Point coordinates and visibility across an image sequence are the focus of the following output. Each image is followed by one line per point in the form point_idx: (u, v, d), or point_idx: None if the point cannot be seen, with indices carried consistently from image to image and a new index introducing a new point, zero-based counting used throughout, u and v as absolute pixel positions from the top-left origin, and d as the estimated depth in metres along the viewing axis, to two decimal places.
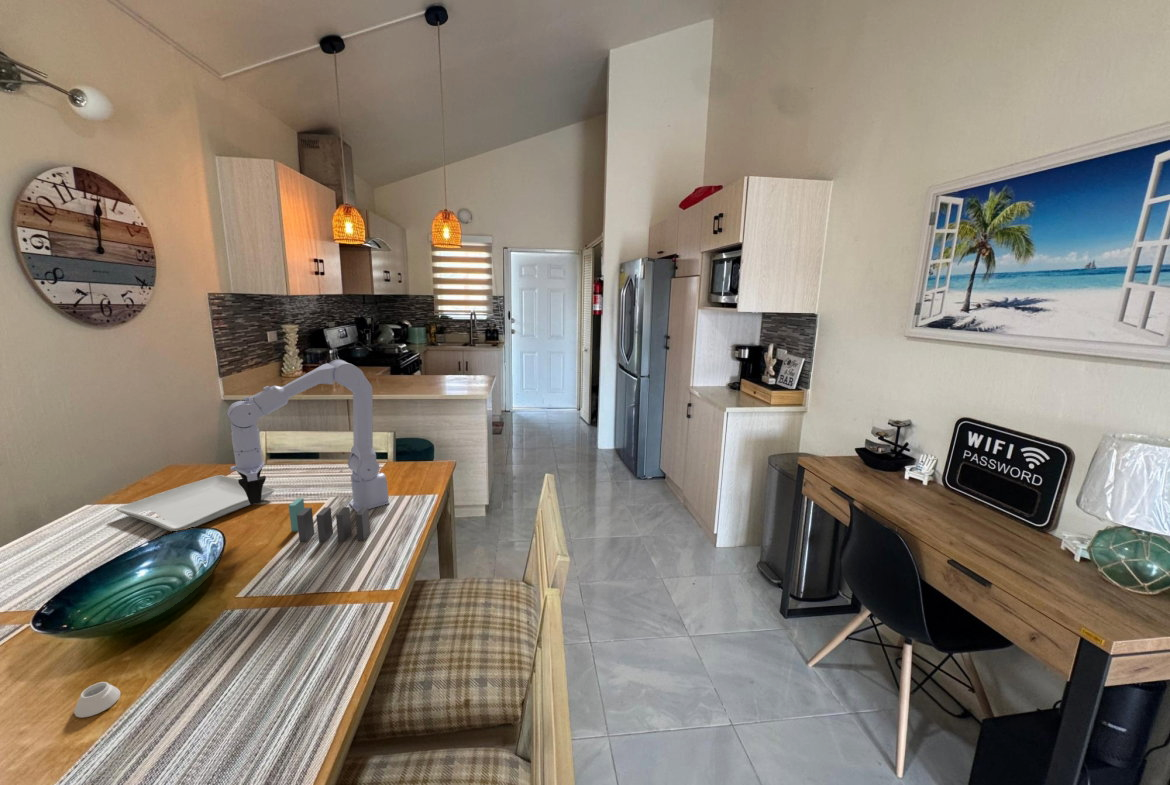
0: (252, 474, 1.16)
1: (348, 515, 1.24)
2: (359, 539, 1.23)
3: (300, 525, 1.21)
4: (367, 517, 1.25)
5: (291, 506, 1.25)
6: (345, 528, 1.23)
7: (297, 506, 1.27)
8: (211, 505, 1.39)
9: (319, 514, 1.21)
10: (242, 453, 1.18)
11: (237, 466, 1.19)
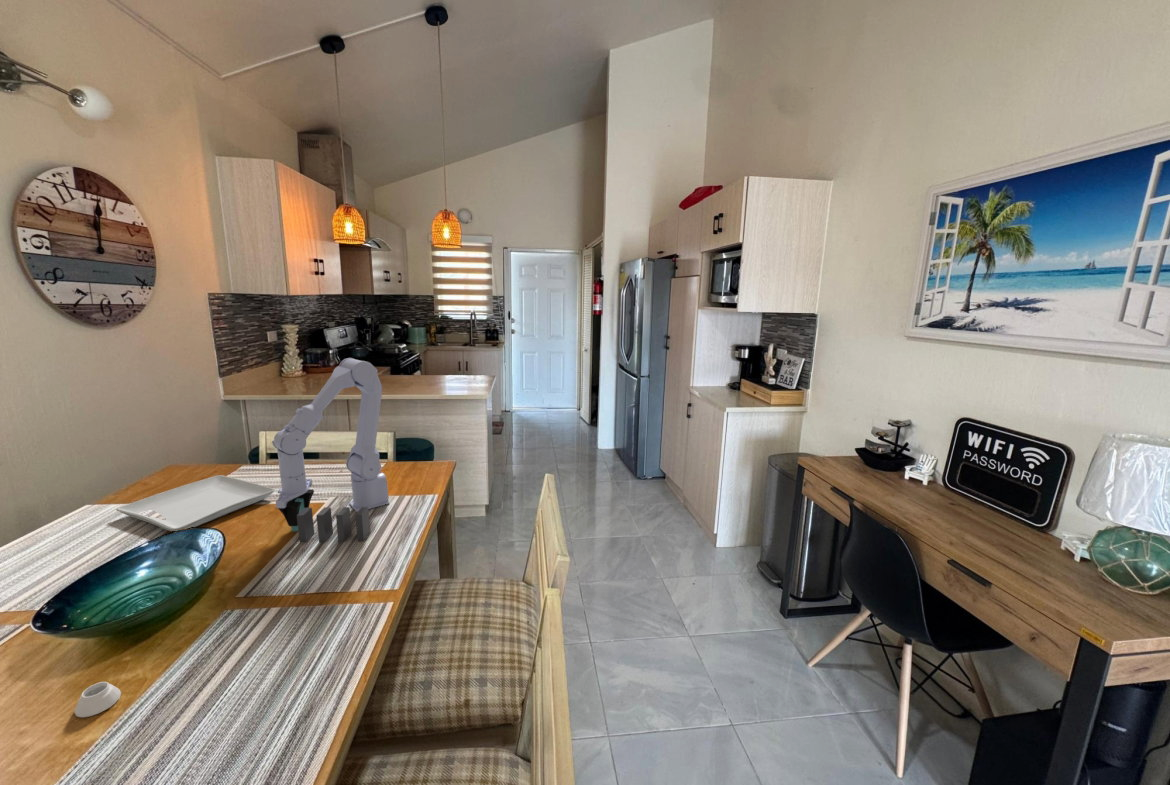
0: (280, 502, 1.20)
1: (348, 515, 1.24)
2: (359, 539, 1.23)
3: (300, 525, 1.21)
4: (367, 517, 1.25)
5: None
6: (345, 528, 1.23)
7: None
8: (211, 505, 1.39)
9: (319, 514, 1.21)
10: (282, 478, 1.23)
11: (282, 489, 1.25)
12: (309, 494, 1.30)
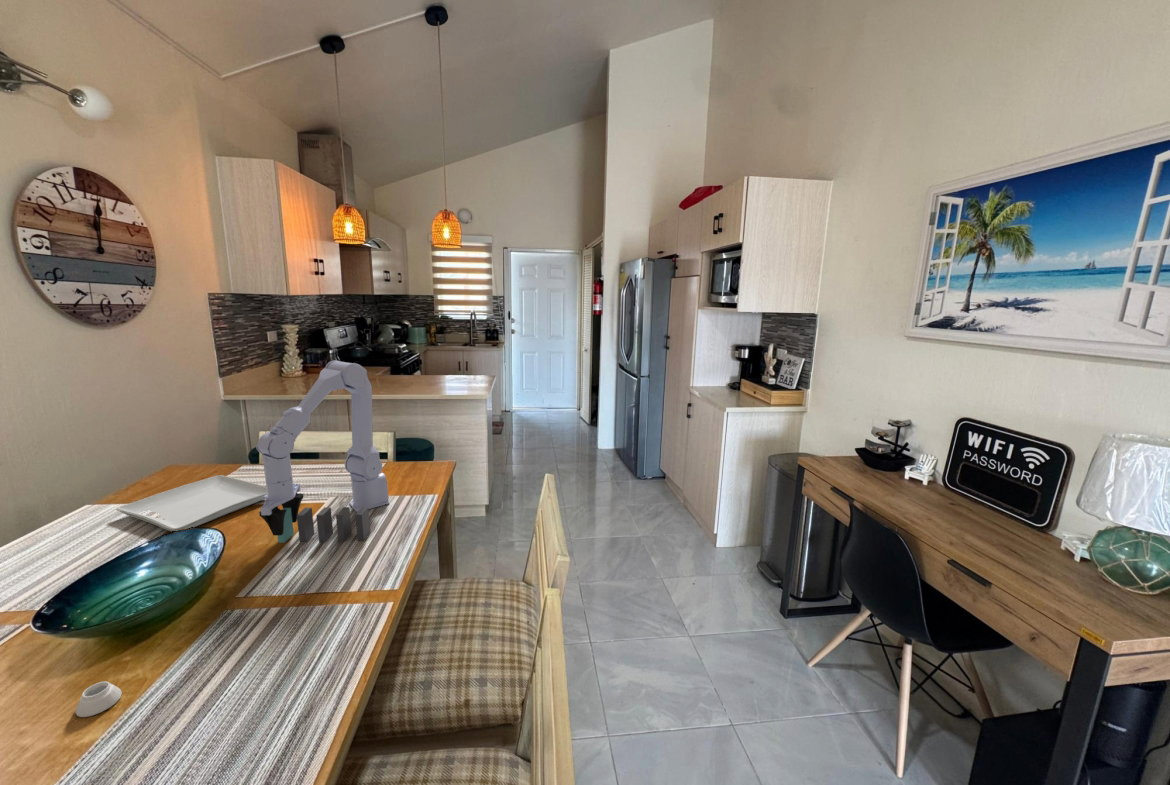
0: (265, 509, 1.14)
1: (348, 515, 1.24)
2: (359, 539, 1.23)
3: (300, 525, 1.21)
4: (367, 517, 1.25)
5: None
6: (345, 528, 1.23)
7: None
8: (211, 505, 1.39)
9: (319, 514, 1.21)
10: (268, 484, 1.18)
11: (267, 495, 1.20)
12: (298, 498, 1.25)
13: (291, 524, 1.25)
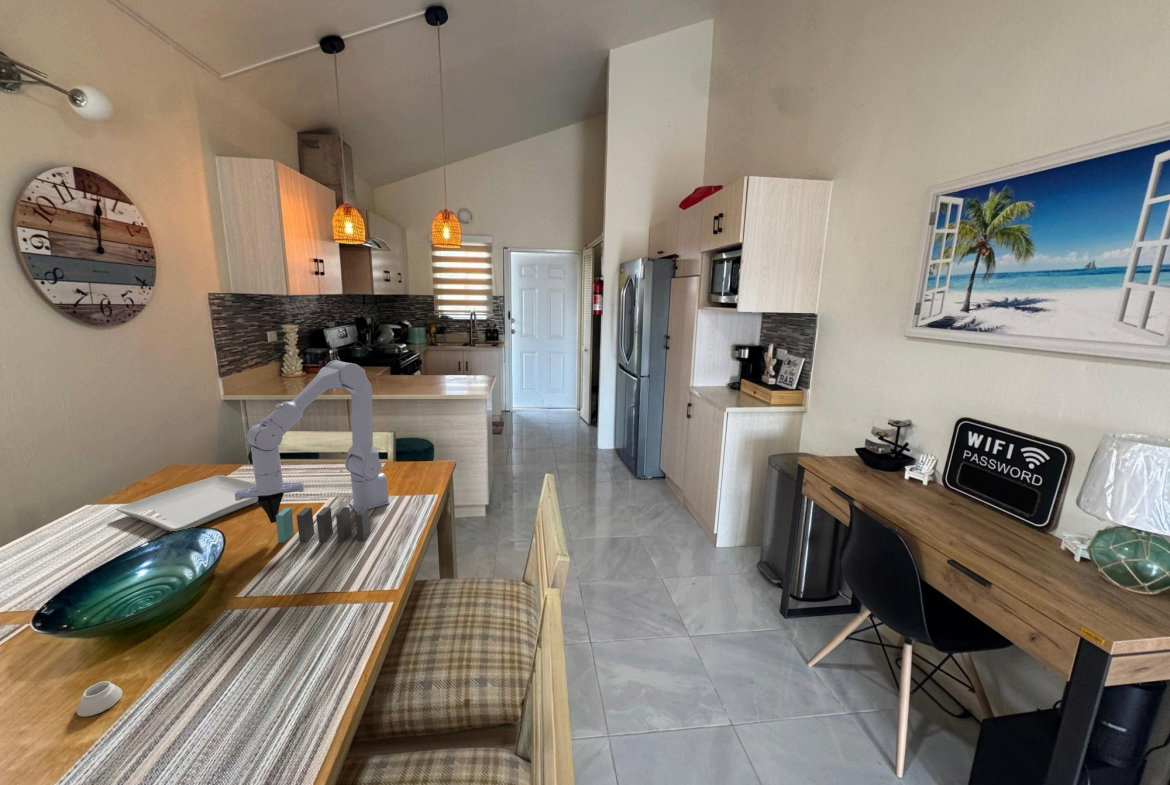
0: None
1: (348, 515, 1.24)
2: (359, 539, 1.23)
3: (300, 525, 1.21)
4: (367, 517, 1.25)
5: (278, 516, 1.20)
6: (345, 528, 1.23)
7: (284, 516, 1.21)
8: (211, 505, 1.39)
9: (319, 514, 1.21)
10: None
11: None
12: (270, 500, 1.19)
13: (291, 524, 1.25)
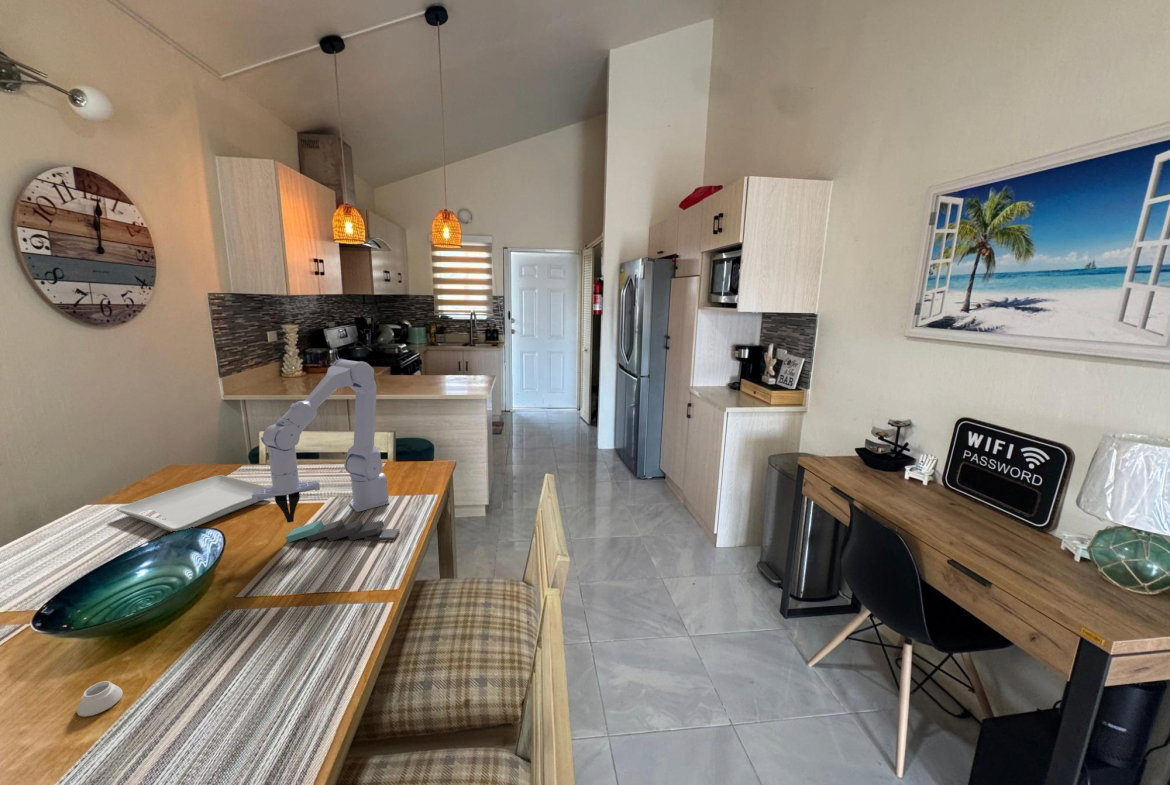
0: (252, 494, 1.17)
1: None
2: (366, 539, 1.23)
3: (325, 533, 1.22)
4: None
5: (313, 531, 1.21)
6: None
7: None
8: (211, 505, 1.39)
9: (355, 528, 1.23)
10: None
11: None
12: None
13: None
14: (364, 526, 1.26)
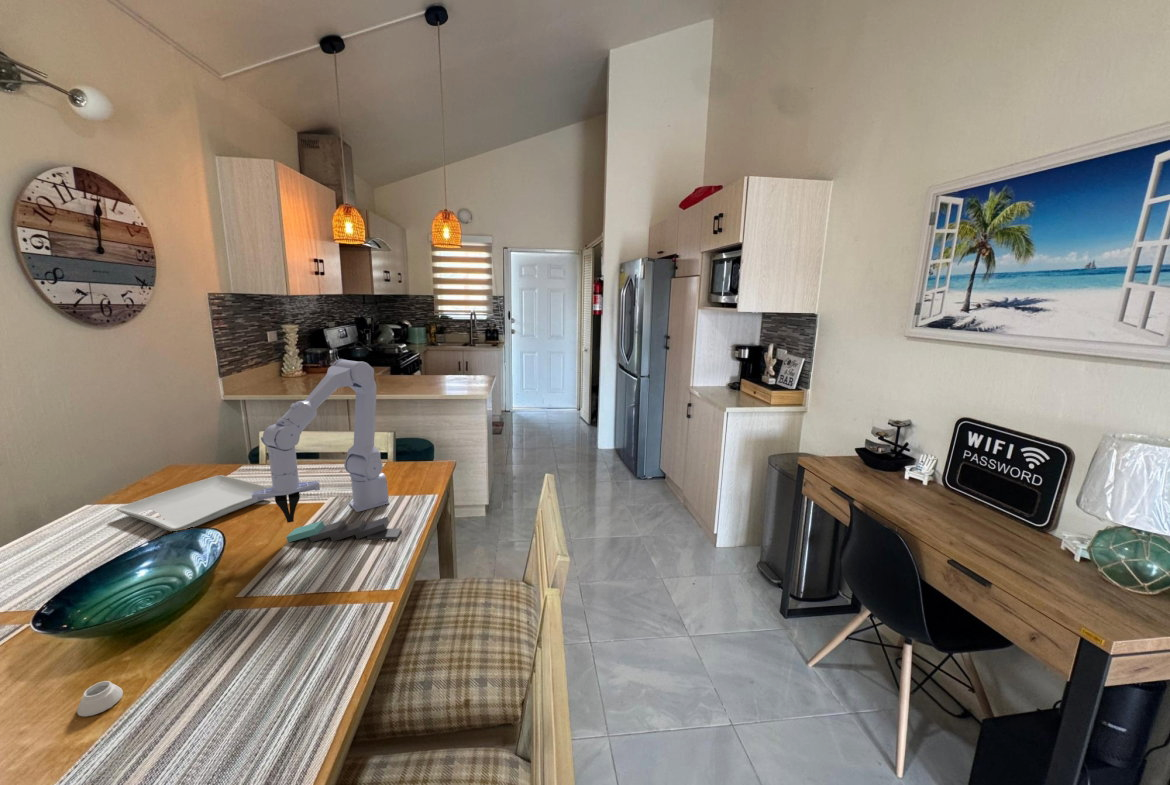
0: (252, 494, 1.17)
1: None
2: (369, 539, 1.23)
3: (327, 533, 1.22)
4: None
5: (314, 531, 1.21)
6: None
7: None
8: (211, 505, 1.39)
9: (359, 528, 1.23)
10: None
11: None
12: None
13: None
14: (369, 524, 1.27)
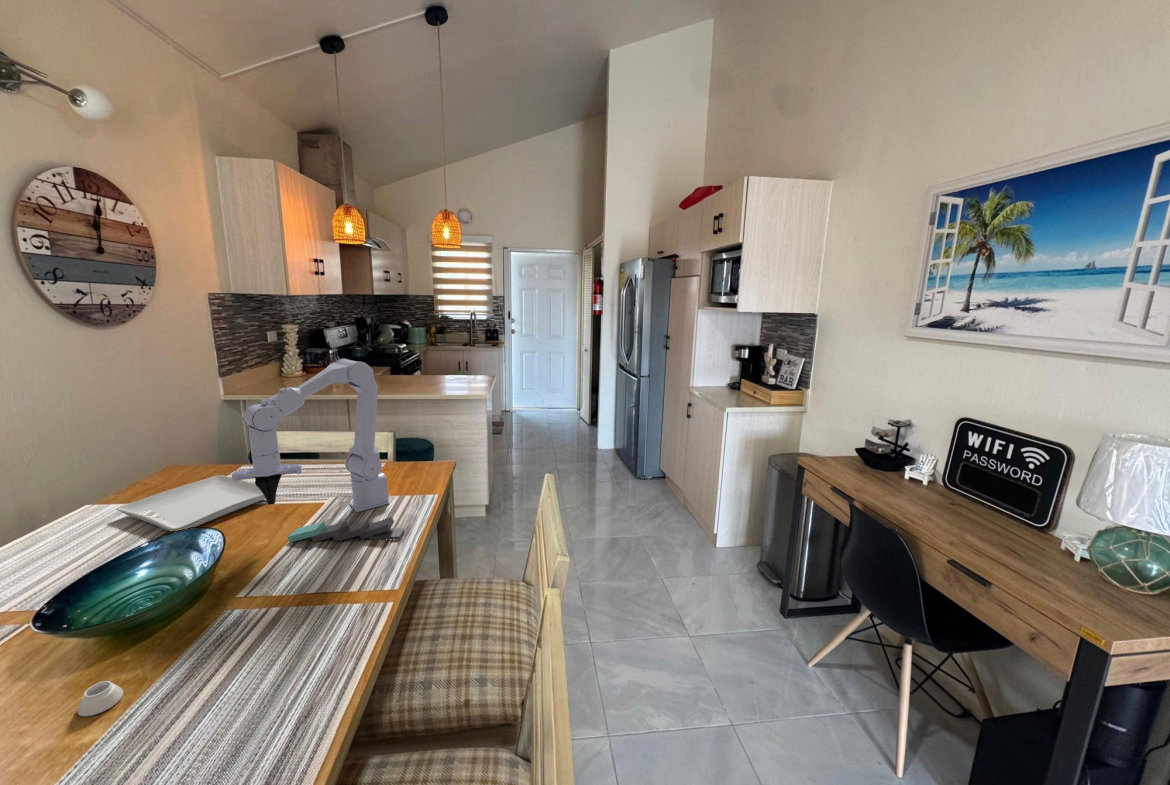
0: None
1: None
2: (371, 538, 1.23)
3: (329, 534, 1.21)
4: None
5: (315, 532, 1.21)
6: None
7: None
8: (211, 505, 1.39)
9: (361, 530, 1.22)
10: None
11: None
12: (268, 481, 1.18)
13: None
14: (374, 524, 1.26)
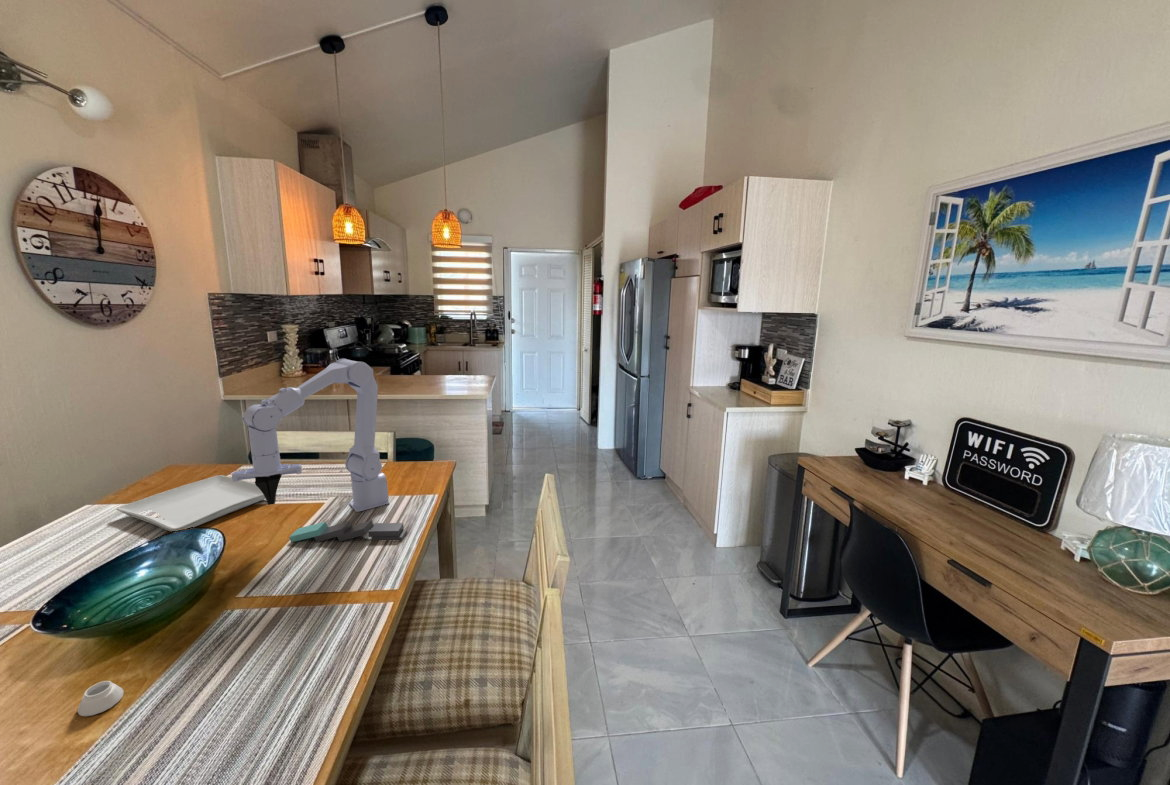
0: None
1: None
2: (374, 539, 1.23)
3: (332, 534, 1.22)
4: None
5: (317, 532, 1.21)
6: None
7: None
8: (211, 505, 1.39)
9: (364, 529, 1.22)
10: None
11: None
12: (268, 481, 1.18)
13: None
14: (385, 525, 1.26)
